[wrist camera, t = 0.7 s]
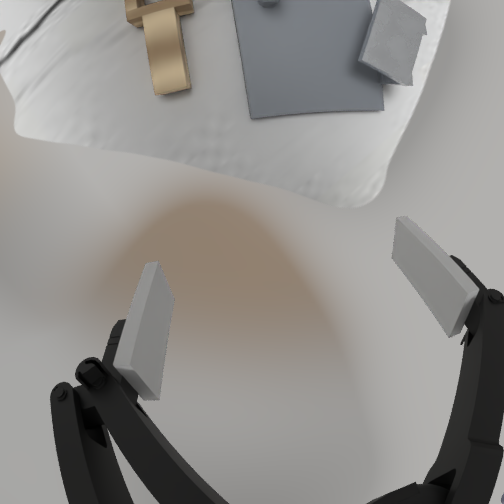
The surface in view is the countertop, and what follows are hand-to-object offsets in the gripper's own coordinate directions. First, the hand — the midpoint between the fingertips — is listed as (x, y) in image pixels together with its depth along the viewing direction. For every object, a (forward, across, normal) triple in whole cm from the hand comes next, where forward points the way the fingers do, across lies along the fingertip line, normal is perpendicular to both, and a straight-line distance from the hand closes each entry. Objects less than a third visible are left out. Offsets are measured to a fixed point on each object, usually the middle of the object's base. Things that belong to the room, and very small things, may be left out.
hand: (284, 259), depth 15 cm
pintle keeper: (+23, +13, +14) cm, 30 cm away
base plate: (+23, +10, +15) cm, 29 cm away
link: (+23, -7, +18) cm, 30 cm away
